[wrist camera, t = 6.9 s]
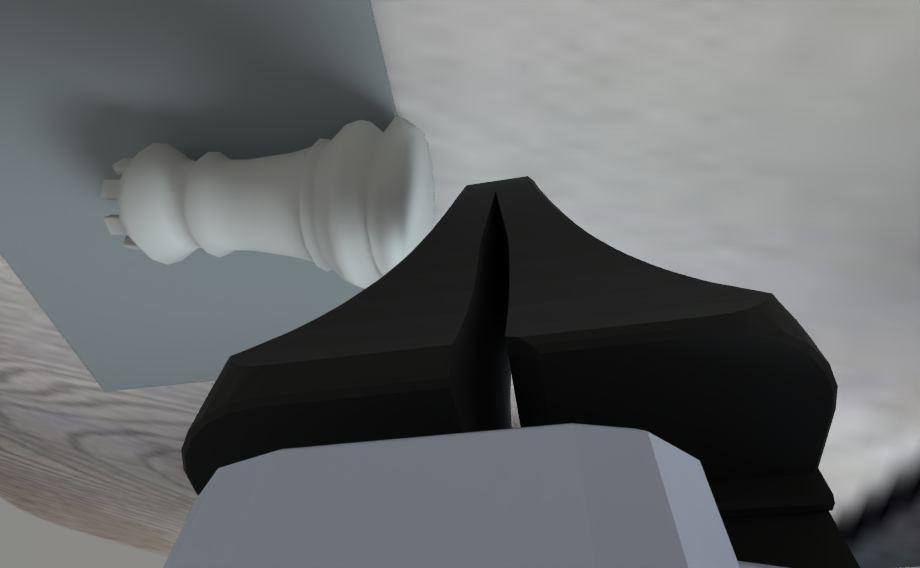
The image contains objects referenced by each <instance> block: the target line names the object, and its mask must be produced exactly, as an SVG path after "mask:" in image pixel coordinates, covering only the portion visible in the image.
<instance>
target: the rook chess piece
mask: <svg viewBox="0 0 920 568" xmlns="http://www.w3.org/2000/svg"><path fill="white" fill-rule="evenodd" d="M112 167H113V169H114V170H115V172H116V173H117V175H122V176H121V178H120V180H103V184H102V191H101V197H100V198H102V199H108V200H117V205H118V212H119V215H113V214H111V215H109V216H106V217H104V218H103V219H104V221H105V223H106V225H107V227H108V229H109V231H110V233H111V235H128V236H126V237H125V240H124V243H123V246H125V247H128V248H131V249H134V250H143V251H144V252H145V253H146V254H147V255H148V256H149V257H150V258H151V259H152V260H154V261H158V262H161V263H164V264H167V265H169V264H172V263H176V262H179V261H182V260H184V259H185V258H186V257H187V256H189V255H190V254H191V253H192V252H194V251H195V250H196V249H197V248H203V249H204V250H205V251H206V252H207V253H209V254H211V255H214V256H216V257H223V256H226V255H229V254H231V253H232V252H233V251H234V250H246V251H260V252H266V253H272V254H278V255H284V256H290V257H297V258H301V259H304V260H308V261H311V262H314V263H315V264H316V265H317V267H319V268H321V269H323V270H324V271H326V272H328V271H331V270H334V271H335V272H336V273H337V274H338V275H339V276H340V277H341V278H342V279H343V280H345V281H347V282H349V283H350V284H352V285H355V286H358V287H361V288H364V289H366V288H367V287H369V286H370V285H372V284H373V283H375V282H376V281H377V280H379V279H380V278H381V277H383V276H384V275H385V274H386V273H388V272H389V271H390V270H391V269H392V268H394V267H395V266H396V265H397V264H399V263H400V262H401V261H402V260H403V259H404V258H405V257H406V256H407V255H408V254H410V253H411V252H412V251H413V250H414V249H415V247H416V246H417V245H418V244H419V243H420V242H421V241H422V240H423V239H424V238H425V237H426V236H427V235H428V234H429V232H430V231H431V230H432V229H433V228H434V217H435V203H434V179H433V168H432V161H431V156H430V151H429V146H428V142H427V140H426V138H425V136H424V133H423V131H421V130H420V129H418V128H417V127H415V126H414V125H413V124H411V123H410V122H408V121H407V120H405V119H403V118H400V117H397V116H395V118H394V119H393V121H392V122H391V123H390V125H389V126H388V127H387V129H386V130H385V131H384V132H383V131H381V130H380V129H379V128H378V127H377V126H375V125H374V124H373V123H372V122H369V121H364V120H358V121H355V122H352V123H349V124H346V125H345V126H344V127H343V128H342V129H341V130H340V131H339V132H338V134H337V135H336V136H335V137H334V138H333V139H332V140H330V139H321V138H319V139H318V141H317V142H316V143H315V144H314V145H313V146H312V147H309V148H306V149H303V150H300V151H296V152H293V153H287V154H280V155H274V156H267V157H261V158H254V159H247V160H230V159H229V158H228V157H226V156H225V155H224V154H222V153H221V152H207V153H206V154H205V155H204V156H202V157H201V158H200V159H198V160H197V161H194V160H191V159H190V158H189V157H187V156H186V155H185V154H184V153H182V152H180V151H179V150H177V149H176V148H174V147H173V146H171V145H170V144H159V143H153V144H151V145H150V146H148V147H146V148H145V149H143V150H142V151H140V152H139V153H138V154H137V155H136V156H135V157H134V158H123V159H121V160H120V161H118V162H116V163H115V164H113V165H112Z"/></svg>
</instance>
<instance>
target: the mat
mask: <svg viewBox="0 0 920 568" xmlns="http://www.w3.org/2000/svg"><path fill="white" fill-rule="evenodd" d="M395 116H397V114H396V110H395V105H394V101H393V97H392V93H391V88H390V84H389V80H388V76H387V72H386V67H385V63H384V59H383V55H382V50H381V46H380V42H379V38H378V33H377V29H376V25H375V21H374V16H373V12H372V8H371V4H370V0H0V254H1V255H2V256H3V258H4V259H5V260H6V261H7V263H8V264H9V265H10V267H11V268H12V269H13V271H14V272H15V273H16V275H17V276H18V277H19V279H20V280H21V281H22V283H23V284H24V285H25V287H26V288H27V289H28V291H29V292H30V293H31V295H32V296H33V297H34V299H35V300H36V301H37V303H38V304H39V305H40V307H41V308H42V309H43V310H44V312H45V313H46V314H47V316H48V317H49V318H50V320H51V321H52V322H53V324H54V325H55V326H56V328H57V329H58V330H59V332H60V333H61V334H62V336H63V337H64V338H65V340H66V341H67V342H68V344H69V345H70V346H71V348H72V349H73V350H74V352H75V353H76V354H77V356H78V357H79V358H80V359H81V361H82V362H83V363H84V365H85V366H86V367H87V369H88V370H89V371H90V373H91V374H92V375H93V377H94V378H95V379H96V381H97V382H98V383H99V385H100V386H101V387H102V389H103V390H104V391H113V390H123V389H133V388H143V387H153V386H163V385H173V384H183V383H193V382H203V381H213V380H217V378H218V376H219V375H220V373H221V371H222V369H223V367H224V365H225V364H226V362H227V361H228V359H229V357H230V356H231V355H234V354H237V353H240V352H242V351H245V350H247V349H250V348H252V347H254V346H257V345H259V344H262V343H264V342H266V341H269V340H271V339H274V338H276V337H278V336H281V335H283V334H286V333H288V332H290V331H292V330H294V329H296V328H298V327H301V326H302V325H304V324H306V323H308V322H310V321H312V320H314V319H316V318H318V317H320V316H322V315H324V314H326V313H327V312H329V311H331V310H333V309H334V308H336V307H338V306H340V305H341V304H343V303H345V302H346V301H348V300H349V299H351V298H352V297H354V296H355V295H357V294H358V293H360V292H361V291H363V290H364V288H361V287H358V286H355V285H352V284H350V283H349V282H347V281H345V280H343V279H342V278H341V277H340V276H339V275H338V274H337V273H336V272H335V271H334V270H331V271H328V272H326V271H324V270H323V269H321V268H319V267H317V265H316V264H315V263H314V262H311V261H308V260H304V259H301V258H297V257H290V256H284V255H278V254H272V253H266V252H260V251H246V250H234V251H233V252H232V253H231V254H229V255H226V256H223V257H216V256H214V255H211V254H209V253H207V252H206V251H205V250H204V249H203V248H197V249H196V250H195V251H194V252H192V253H191V254H190V255H189V256H187V257H186V258H185V259H184V260H182V261H179V262H176V263H172V264H169V265H167V264H164V263H161V262H158V261H154V260H152V259H151V258H150V257H149V256H148V255H147V254H146V253H145V252H144V251H143V250H134V249H131V248H128V247H125V246H123V243H124V240H125V237H126V236H128V235H111V233H110V231H109V229H108V227H107V225H106V223H105V221H104V219H103V218H104V217H106V216H109V215H111V214H113V215H119V212H118V205H117V200H108V199H102V198H100V197H101V191H102V184H103V180H120V178H121V176H122V175H117V173H116V172H115V170H114V169H113V167H112V165H113V164H115V163H116V162H118V161H120V160H121V159H123V158H134V157H135V156H136V155H137V154H138V153H139V152H140V151H142V150H143V149H145V148H146V147H148V146H150V145H151V144H153V143H159V144H170V145H171V146H173V147H174V148H176V149H177V150H179V151H180V152H182V153H184V154H185V155H186V156H187V157H189V158H190V159H191V160H194V161H197V160H198V159H200V158H201V157H202V156H204V155H205V154H206V153H207V152H221V153H222V154H224V155H225V156H226V157H228V158H229V159H230V160H247V159H254V158H261V157H267V156H274V155H280V154H287V153H293V152H296V151H300V150H303V149H306V148H309V147H312V146H313V145H314V144H315V143H316V142H317V141H318V139H319V138H321V139H330V140H332V139H333V138H334V137H335V136H336V135H337V134H338V132H339V131H340V130H341V129H342V128H343V127H344V126H345V125H346V124H349V123H352V122H355V121H358V120H364V121H369V122H372V123H373V124H374V125H375V126H377V127H378V128H379V129H380V130H381V131H383V132H384V131H385V130H386V129H387V127H388V126H389V125H390V123H391V122H392V121H393V119H394V118H395Z"/></svg>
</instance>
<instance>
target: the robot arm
mask: <svg viewBox="0 0 920 568" xmlns="http://www.w3.org/2000/svg"><path fill="white" fill-rule="evenodd" d="M511 374H512V379H513V385H514V391H515V397H516V402H517V408H518V414H519V419H520V425H521V428H513V429H512V426H511V408H510V389H511ZM837 387H838V386H837V383H836V381H835V378H834V375H833V372H832V370H831V367H830V364H829V363H828V361H827V360H826V359H825V357H824V356H823V354H822V353H821V352H820V350H819V349H818V348H817V346H816V345H815V343H814V342H813V341H812V339H811V338H810V337H809V335H808V334H807V333H806V332H805V330H804V329H803V328H802V327H801V325H800V324H799V323H798V322H797V320H796V319H795V318H794V317H793V316H792V315H791V314H790V313H789V312H788V311H787V310H786V309H785V308H784V306H783V305H782V304H781V303H780V302H779V301H778V300H777V299H776V297H775V296H774V295H773V294H772V293H766V292H761V291H755V290H750V289H744V288H739V287H733V286H728V285H722V284H717V283H712V282H707V281H703V280H700V279H696V278H692V277H689V276H685V275H682V274H678V273H674V272H671V271H668V270H665V269H662V268H659V267H656V266H654V265H651V264H649V263H646V262H644V261H641V260H639V259H636V258H634V257H632V256H629V255H627V254H625V253H623V252H621V251H619V250H616V249H615V248H613V247H611V246H609V245H607V244H606V243H604V242H602V241H600V240H598V239H597V238H595V237H593V236H592V235H590V234H589V233H587V232H586V231H584V230H583V229H582V228H580V227H579V226H578V225H576V224H575V223H574V222H573V221H572V220H570V219H569V218H568V217H567V216H566V215H565V214H564V213H562V212H561V211H560V210H559V209H558V208H557V207H556V206H555V205H554V204H553V203H552V202H551V201H550V200H549V199H548V198H547V197H546V196H545V195H544V194H543V192H542V191H541V190H540V189H539V188H538V186H537V185H536V184H535V182H534V181H533V180H532V179H531V178H529V177H528V176H527V177H520V178H513V179H507V180H500V181H493V182H487V183H480V184H473V185H467V186H466V187H465V188H464V190H463V191H462V192H461V193H460V195H459V196H458V197H457V199H456V200H455V201H454V203H453V204H452V205H451V207H450V208H449V209H448V211H447V212H446V213H445V215H444V216H443V217H442V218H441V220H440V221H439V222H438V223H437V225H436V226H435V227H434V228H433V229H432V230H431V231H430V232H429V234H428V235H427V236H426V237H425V238H424V239H423V240H422V241H421V242H420V243H419V244H418V245H417V246H416V247H415V249H414V250H413V251H412V252H411V253H410V254H408V255H407V256H406V257H405V258H404V259H403V260H402V261H401V262H400V263H399V264H397V265H396V266H395V267H394V268H392V269H391V270H390V271H389V272H388V273H386V274H385V275H384V276H383V277H381V278H380V279H379V280H377V281H376V282H375V283H373V284H372V285H370V286H369V287H367V288H366V289H364V290H363V291H361V292H360V293H358V294H357V295H355V296H354V297H352V298H351V299H349V300H348V301H346V302H345V303H343V304H341V305H340V306H338V307H336V308H334V309H333V310H331V311H329V312H327V313H326V314H324V315H322V316H320V317H318V318H316V319H314V320H312V321H310V322H308V323H306V324H304V325H302V326H301V327H298V328H296V329H294V330H292V331H290V332H288V333H286V334H283V335H281V336H278V337H276V338H274V339H271V340H269V341H266V342H264V343H262V344H259V345H257V346H254V347H252V348H250V349H247V350H245V351H242V352H240V353H237V354H234V355H231V356H230V357H229V359H228V361H227V362H226V364H225V365H224V367H223V369H222V371H221V373H220V375H219V376H218V378H217V380H216V382H215V384H214V385H213V387H212V389H211V391H210V393H209V394H208V396H207V398H206V400H205V402H204V403H203V405H202V407H201V409H200V411H199V413H198V414H197V416H196V418H195V420H194V422H193V423H192V425H191V427H190V429H189V431H188V433H187V436H186V439H185V441H184V444H183V447H182V450H181V451H182V459H183V468H184V471H185V473H186V475H187V477H188V479H189V480H190V482H191V484H192V486H193V488H194V490H195V491H196V493H197V494H198V497H197V499H196V500H195V502H194V504H193V506H192V508H191V510H190V513H189V515H188V517H187V519H186V521H185V523H184V525H183V527H182V529H181V531H180V533H179V536H178V538H177V540H176V542H175V544H174V546H173V548H172V550H171V552H170V554H169V557H168V559H167V561H166V563H165V565H164V567H163V568H860V567H859V565H858V563H857V561H856V559H855V558H854V556H853V554H852V552H851V550H850V549H849V547H848V545H847V543H846V541H845V540H844V538H843V536H842V534H841V532H840V531H839V529H838V527H837V525H836V523H835V521H834V520H833V518H832V516H831V514H830V512H829V511H830V510H833V507H834V504H835V501H834V497H833V493H832V492H831V490H830V488H829V486H828V485H827V483H826V481H825V479H824V478H823V476H822V474H821V472H820V471H819V469H818V466H819V463H820V460H821V456H822V453H823V449H824V446H825V443H826V439H827V436H828V433H829V429H830V426H831V423H832V419H833V416H834V412H835V409H836V398H837ZM907 568H920V567H907Z"/></svg>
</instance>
